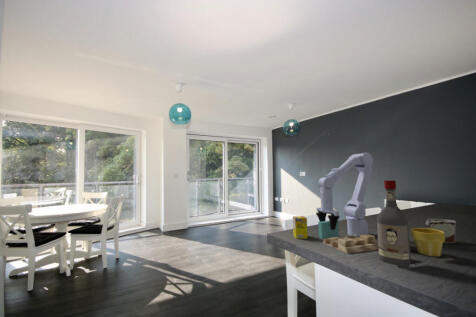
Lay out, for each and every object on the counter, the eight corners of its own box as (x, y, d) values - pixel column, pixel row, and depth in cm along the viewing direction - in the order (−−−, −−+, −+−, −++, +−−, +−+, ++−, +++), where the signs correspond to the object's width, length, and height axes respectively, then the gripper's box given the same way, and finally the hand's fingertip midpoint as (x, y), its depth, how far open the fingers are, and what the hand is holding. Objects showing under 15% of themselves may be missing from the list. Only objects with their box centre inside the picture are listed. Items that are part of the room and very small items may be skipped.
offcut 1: (346, 247, 99) (346, 237, 100) (353, 250, 95) (353, 240, 96) (338, 248, 98) (337, 238, 98) (345, 251, 94) (344, 241, 94)
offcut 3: (368, 244, 103) (367, 234, 103) (375, 247, 99) (375, 236, 99) (360, 245, 101) (359, 235, 102) (367, 248, 98) (367, 237, 98)
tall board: (335, 236, 119) (334, 220, 119) (338, 237, 116) (338, 221, 117) (318, 237, 116) (318, 221, 116) (322, 239, 113) (321, 222, 114)
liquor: (382, 256, 91) (377, 180, 93) (411, 261, 85) (405, 180, 87) (378, 263, 83) (373, 180, 86) (409, 269, 78) (403, 181, 80)
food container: (447, 239, 112) (446, 218, 113) (458, 243, 106) (456, 221, 106) (420, 239, 113) (419, 218, 114) (429, 242, 107) (428, 221, 108)
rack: (353, 240, 112) (353, 234, 112) (382, 251, 97) (382, 243, 97) (322, 244, 107) (321, 238, 107) (347, 256, 91) (347, 248, 92)
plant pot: (410, 249, 98) (408, 226, 98) (441, 253, 93) (439, 228, 94) (415, 257, 88) (413, 232, 89) (450, 262, 84) (448, 234, 84)
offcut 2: (358, 245, 101) (357, 237, 101) (365, 248, 97) (365, 240, 97) (348, 247, 100) (348, 238, 100) (356, 249, 96) (355, 241, 96)
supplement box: (307, 240, 114) (307, 218, 115) (295, 240, 114) (295, 218, 115) (304, 237, 120) (303, 215, 121) (293, 237, 120) (292, 216, 121)
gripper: (311, 199, 123) (312, 225, 122) (329, 202, 109) (331, 231, 108) (322, 199, 125) (323, 224, 124) (341, 202, 111) (343, 230, 110)
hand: (327, 227), depth 116 cm, fingers open, 7 cm apart
